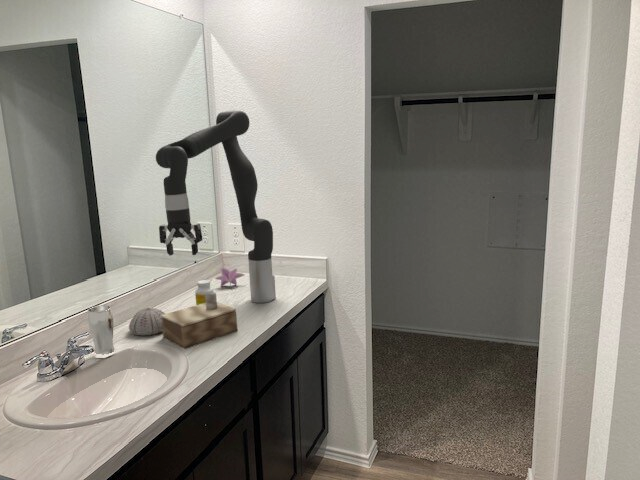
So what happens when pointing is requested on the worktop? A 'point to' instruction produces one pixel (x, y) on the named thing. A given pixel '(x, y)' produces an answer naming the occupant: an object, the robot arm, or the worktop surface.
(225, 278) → the lily
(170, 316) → the lid
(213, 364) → the worktop surface
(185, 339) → the walnut box
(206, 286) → the supplement bottle
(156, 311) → the sea urchin shell
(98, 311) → the beer glass
